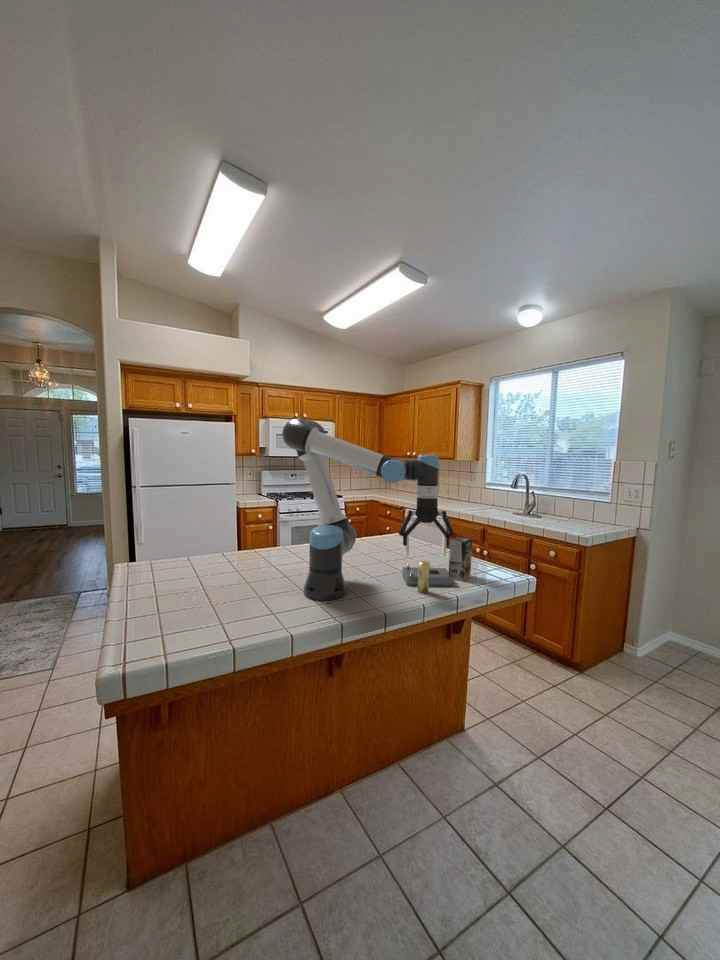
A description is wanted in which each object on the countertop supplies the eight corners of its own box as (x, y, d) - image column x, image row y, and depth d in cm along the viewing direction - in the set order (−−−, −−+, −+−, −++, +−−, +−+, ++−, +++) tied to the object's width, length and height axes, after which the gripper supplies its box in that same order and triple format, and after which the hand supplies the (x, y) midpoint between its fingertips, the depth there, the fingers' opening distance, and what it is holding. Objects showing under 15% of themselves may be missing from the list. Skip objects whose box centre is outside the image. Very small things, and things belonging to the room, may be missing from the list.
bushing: (418, 593, 141) (419, 563, 140) (416, 589, 145) (417, 560, 144) (429, 593, 141) (430, 564, 140) (427, 589, 145) (428, 561, 144)
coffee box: (462, 581, 156) (464, 542, 155) (447, 578, 160) (449, 539, 159) (471, 576, 163) (473, 538, 162) (456, 572, 167) (458, 536, 166)
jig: (406, 585, 149) (407, 572, 149) (402, 575, 161) (402, 563, 161) (452, 586, 150) (453, 573, 150) (445, 576, 162) (445, 564, 162)
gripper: (394, 497, 136) (392, 557, 138) (464, 498, 137) (462, 557, 139) (391, 495, 144) (390, 551, 145) (458, 496, 145) (456, 552, 146)
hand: (425, 554), depth 142 cm, fingers open, 13 cm apart
